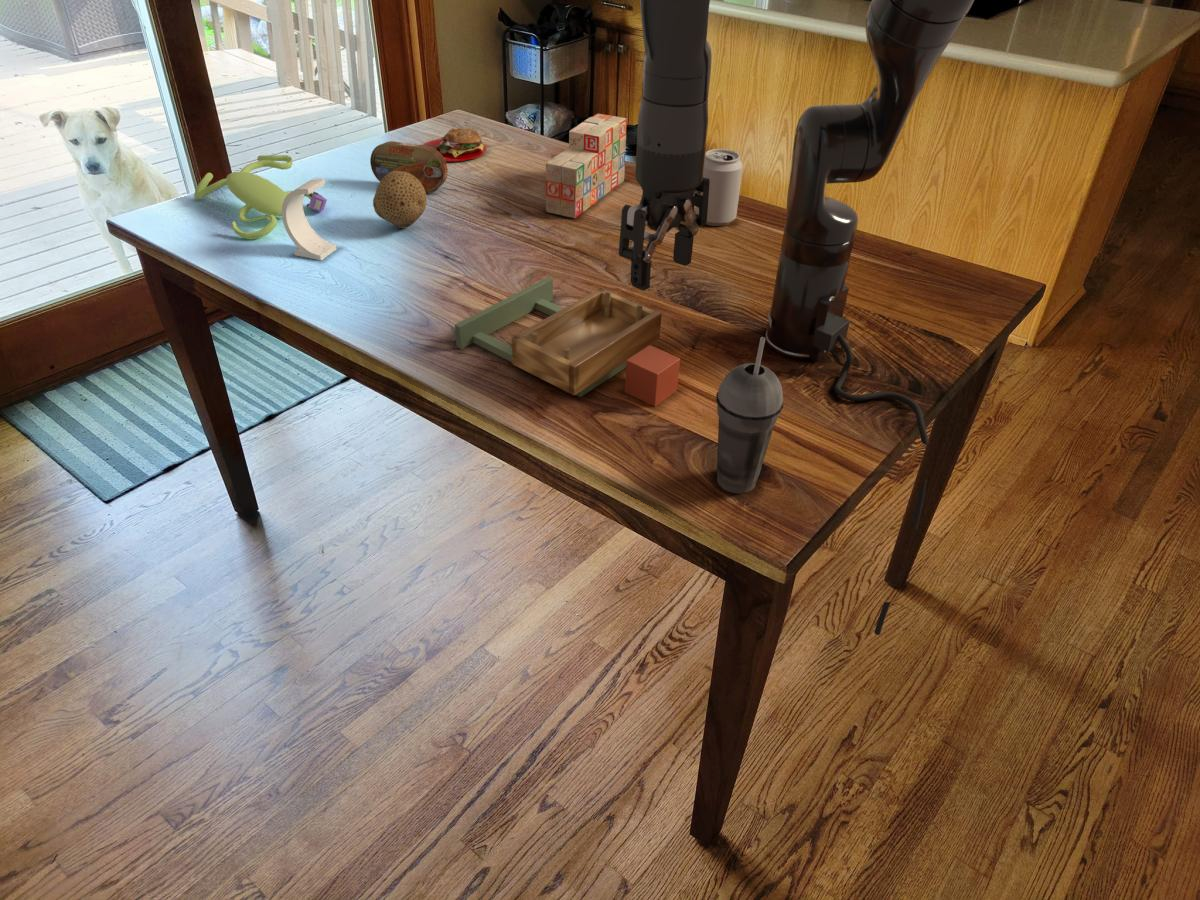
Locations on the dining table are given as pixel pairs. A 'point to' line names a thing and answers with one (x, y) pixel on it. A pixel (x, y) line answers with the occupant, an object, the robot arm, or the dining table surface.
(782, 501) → the dining table surface
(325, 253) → the headphone stand
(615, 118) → the stack of blocks
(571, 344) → the open box
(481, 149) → the hamburger
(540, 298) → the green rectangular frame
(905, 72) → the robot arm
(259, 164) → the figurine
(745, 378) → the beverage cup
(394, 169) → the tin
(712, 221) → the can
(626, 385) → the block
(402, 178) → the natural sponge
